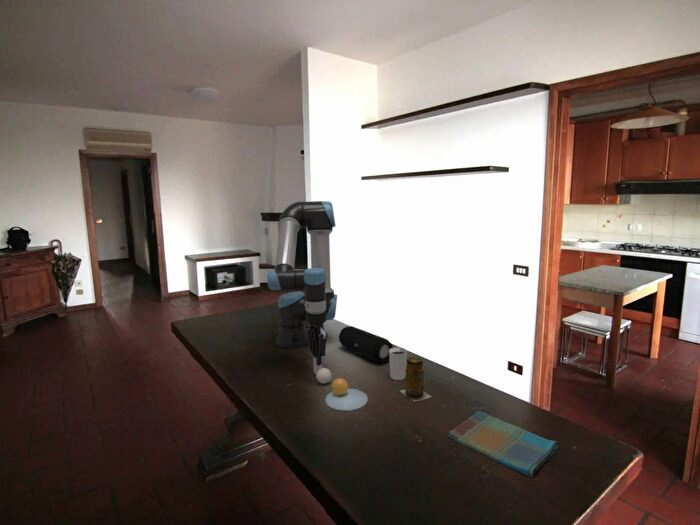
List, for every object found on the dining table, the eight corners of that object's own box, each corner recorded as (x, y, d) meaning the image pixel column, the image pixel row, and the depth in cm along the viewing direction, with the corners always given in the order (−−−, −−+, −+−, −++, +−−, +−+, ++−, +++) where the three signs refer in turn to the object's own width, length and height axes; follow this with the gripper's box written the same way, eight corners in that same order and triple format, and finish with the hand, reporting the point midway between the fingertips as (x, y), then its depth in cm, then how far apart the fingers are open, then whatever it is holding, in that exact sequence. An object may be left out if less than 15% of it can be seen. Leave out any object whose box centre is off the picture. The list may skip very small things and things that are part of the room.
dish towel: (532, 482, 92) (532, 472, 91) (446, 439, 109) (446, 430, 108) (559, 449, 103) (560, 440, 103) (477, 415, 120) (478, 407, 120)
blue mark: (338, 385, 139) (338, 385, 139) (374, 394, 133) (374, 393, 133) (317, 404, 127) (317, 403, 127) (356, 414, 120) (355, 414, 120)
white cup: (409, 374, 147) (409, 348, 145) (403, 381, 141) (404, 355, 140) (392, 371, 150) (392, 346, 148) (386, 378, 144) (386, 352, 142)
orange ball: (339, 372, 134) (348, 381, 130) (344, 381, 137) (353, 390, 133) (326, 382, 132) (334, 392, 128) (332, 391, 136) (340, 401, 131)
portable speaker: (337, 349, 173) (336, 327, 172) (354, 343, 179) (354, 322, 178) (377, 367, 154) (377, 343, 152) (394, 360, 160) (394, 337, 158)
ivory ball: (329, 369, 138) (331, 384, 138) (330, 364, 144) (333, 379, 144) (313, 371, 139) (316, 387, 138) (315, 367, 144) (318, 382, 144)
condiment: (417, 386, 138) (417, 354, 136) (432, 397, 130) (432, 363, 128) (399, 391, 134) (399, 358, 132) (413, 402, 127) (414, 367, 125)
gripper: (298, 308, 146) (301, 368, 150) (314, 317, 135) (317, 381, 139) (316, 305, 150) (318, 363, 153) (333, 313, 139) (335, 376, 143)
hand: (317, 372), depth 146 cm, fingers closed
